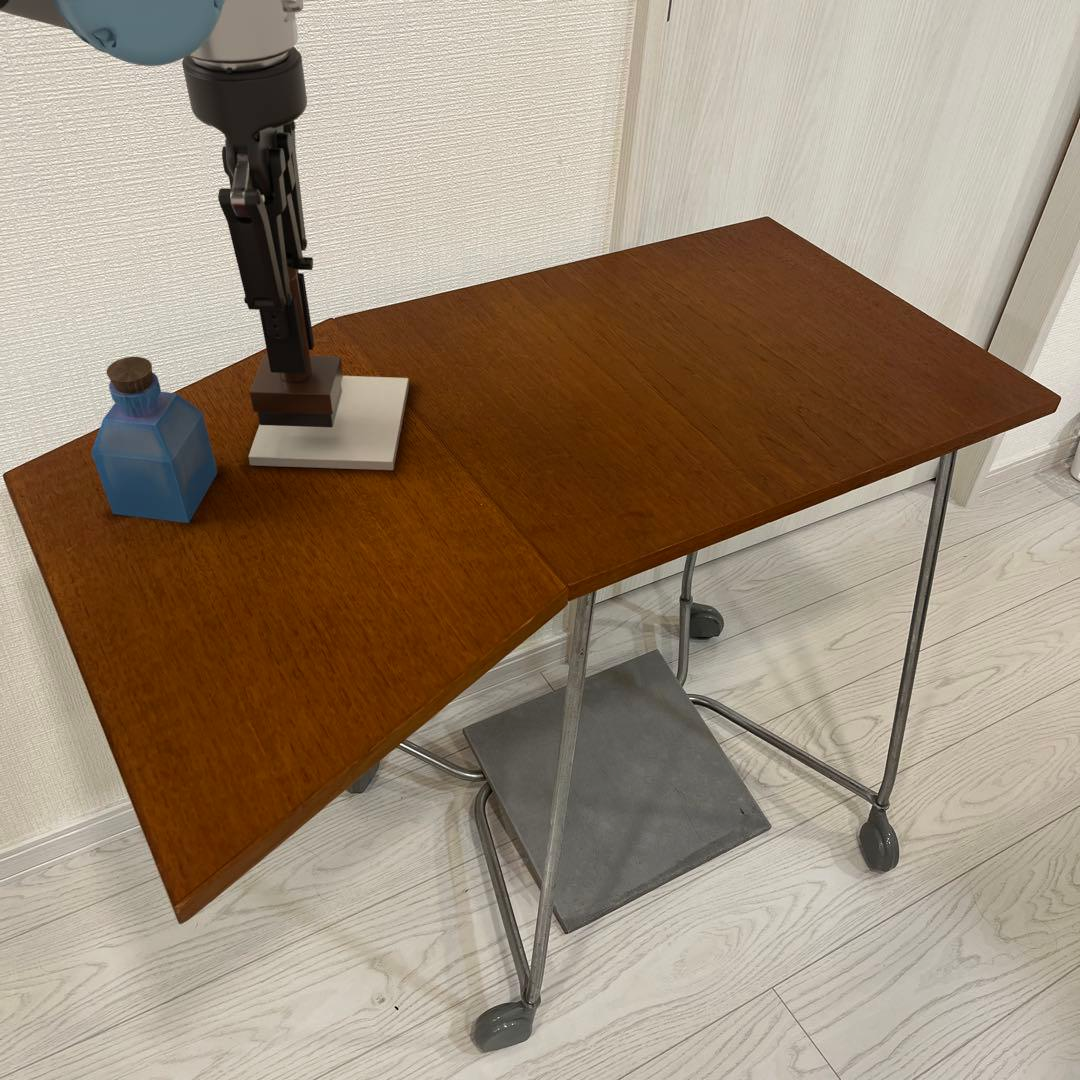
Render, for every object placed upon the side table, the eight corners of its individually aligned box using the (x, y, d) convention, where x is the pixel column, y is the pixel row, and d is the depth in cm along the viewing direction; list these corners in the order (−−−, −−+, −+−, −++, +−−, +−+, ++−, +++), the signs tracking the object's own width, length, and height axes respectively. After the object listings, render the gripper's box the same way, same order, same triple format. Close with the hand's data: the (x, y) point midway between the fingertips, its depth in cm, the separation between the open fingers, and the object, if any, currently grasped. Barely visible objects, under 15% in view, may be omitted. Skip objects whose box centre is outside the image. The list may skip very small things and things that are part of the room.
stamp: (256, 427, 83) (228, 291, 74) (270, 388, 87) (244, 254, 78) (335, 429, 83) (315, 294, 74) (345, 390, 87) (327, 257, 78)
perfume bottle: (145, 464, 84) (107, 341, 76) (217, 472, 84) (186, 349, 75) (113, 513, 80) (68, 389, 71) (188, 523, 79) (152, 398, 71)
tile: (249, 465, 84) (247, 456, 84) (278, 381, 93) (277, 372, 92) (393, 470, 85) (392, 461, 84) (409, 386, 93) (408, 377, 93)
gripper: (274, 99, 59) (323, 419, 76) (320, 12, 70) (354, 307, 87) (146, 94, 59) (222, 416, 76) (212, 8, 70) (266, 305, 87)
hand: (292, 357), depth 81 cm, fingers closed on stamp, 3 cm apart
